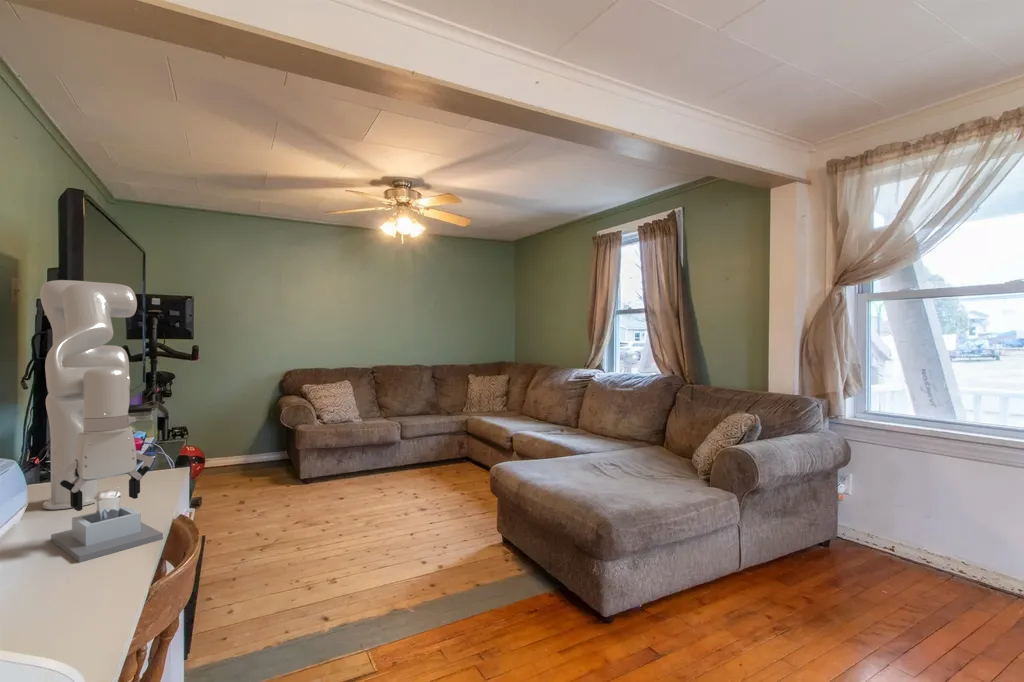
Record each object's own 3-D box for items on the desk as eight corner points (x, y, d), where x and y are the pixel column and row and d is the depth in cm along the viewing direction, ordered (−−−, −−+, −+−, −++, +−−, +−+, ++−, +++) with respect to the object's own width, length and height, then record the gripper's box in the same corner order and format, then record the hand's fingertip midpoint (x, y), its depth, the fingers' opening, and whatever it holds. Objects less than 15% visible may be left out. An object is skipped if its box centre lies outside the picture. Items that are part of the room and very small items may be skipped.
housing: (51, 540, 107) (50, 516, 107) (129, 520, 119) (128, 499, 119) (79, 562, 96) (79, 535, 96) (162, 538, 107) (162, 514, 107)
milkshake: (107, 537, 105) (107, 490, 105) (89, 535, 106) (88, 489, 106) (129, 530, 109) (129, 484, 109) (111, 527, 111) (111, 483, 111)
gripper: (146, 418, 117) (146, 490, 116) (48, 429, 102) (48, 511, 102) (159, 420, 112) (159, 496, 112) (58, 432, 98) (58, 518, 98)
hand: (106, 503), depth 107 cm, fingers open, 9 cm apart
